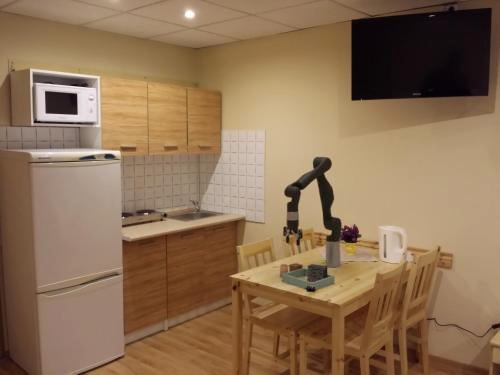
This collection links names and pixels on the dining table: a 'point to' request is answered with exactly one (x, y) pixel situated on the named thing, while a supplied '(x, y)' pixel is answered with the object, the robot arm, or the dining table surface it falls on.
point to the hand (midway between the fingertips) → (292, 244)
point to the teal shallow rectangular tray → (292, 279)
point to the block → (295, 267)
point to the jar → (283, 269)
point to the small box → (317, 272)
